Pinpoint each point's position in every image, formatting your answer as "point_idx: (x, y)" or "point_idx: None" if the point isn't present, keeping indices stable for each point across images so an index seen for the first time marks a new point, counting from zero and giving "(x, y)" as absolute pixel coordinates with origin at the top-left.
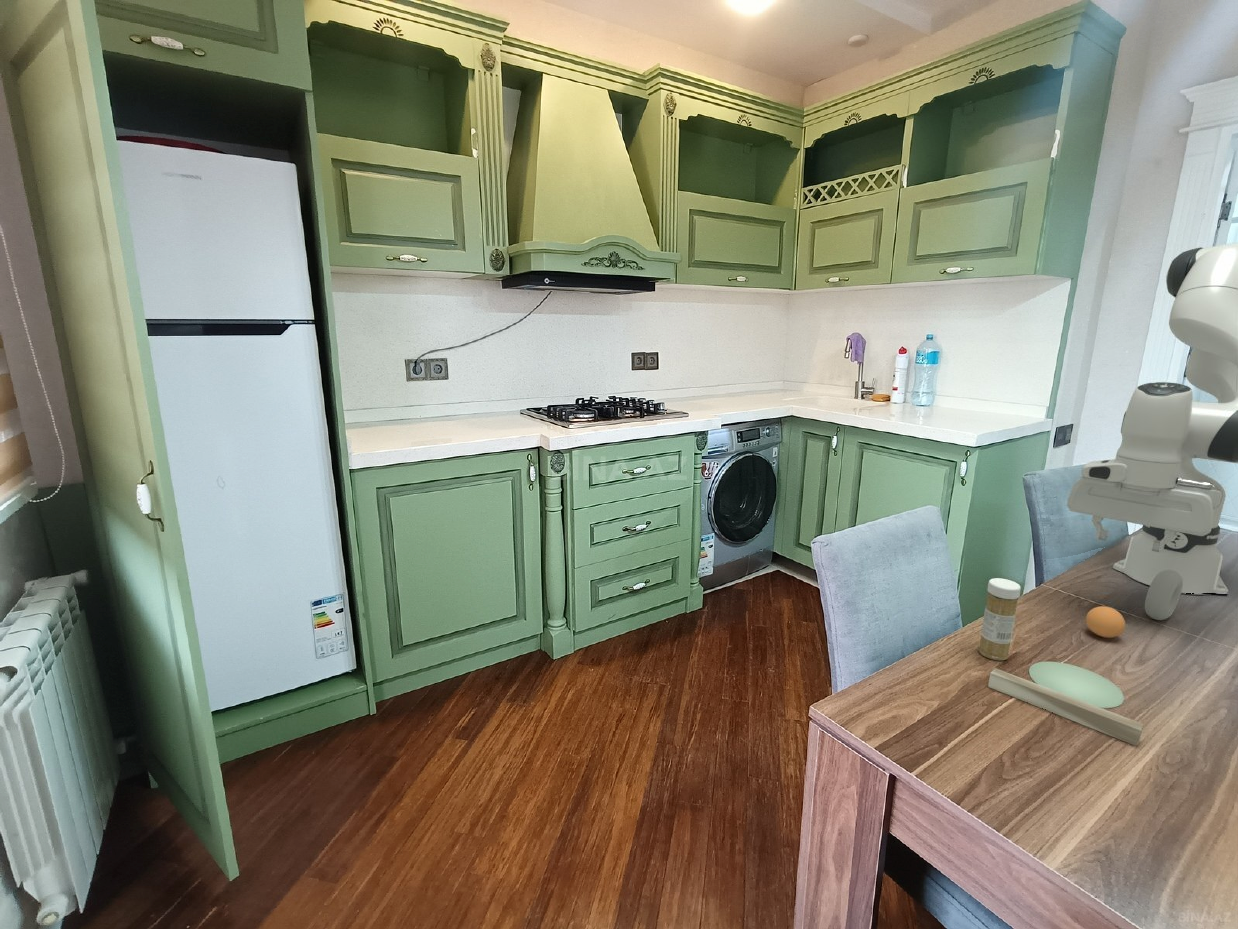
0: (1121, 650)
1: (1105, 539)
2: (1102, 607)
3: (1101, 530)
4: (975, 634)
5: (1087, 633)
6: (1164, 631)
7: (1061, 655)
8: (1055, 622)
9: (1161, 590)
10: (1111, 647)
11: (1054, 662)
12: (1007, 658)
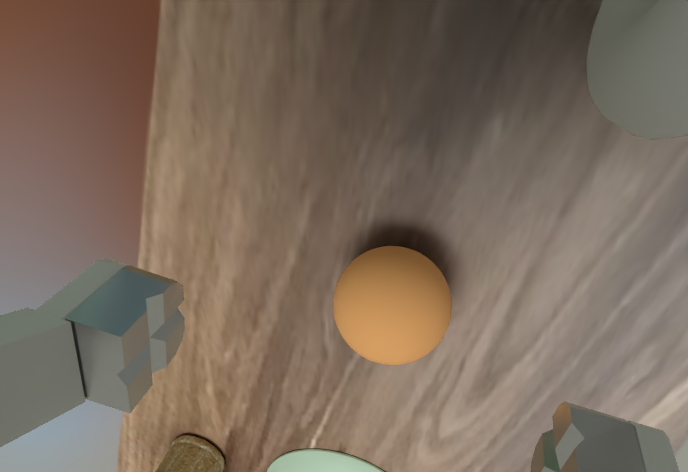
0: (445, 341)
1: (175, 350)
2: (361, 338)
3: (78, 402)
4: None
5: None
6: None
7: (310, 415)
8: (274, 242)
9: (662, 133)
10: None
11: (300, 453)
12: (224, 466)
